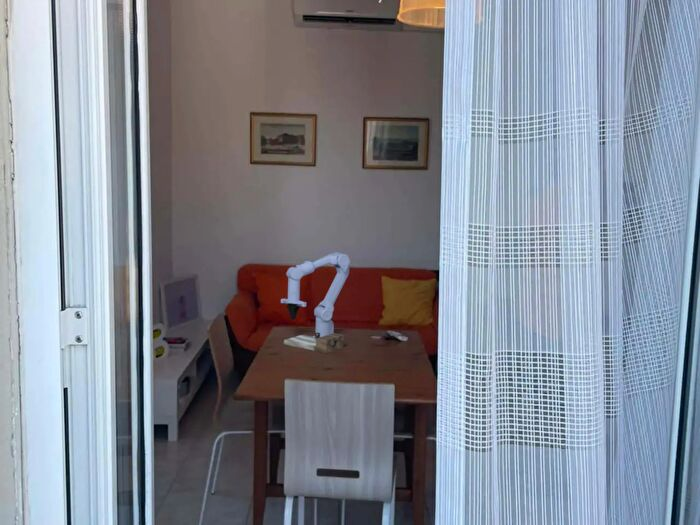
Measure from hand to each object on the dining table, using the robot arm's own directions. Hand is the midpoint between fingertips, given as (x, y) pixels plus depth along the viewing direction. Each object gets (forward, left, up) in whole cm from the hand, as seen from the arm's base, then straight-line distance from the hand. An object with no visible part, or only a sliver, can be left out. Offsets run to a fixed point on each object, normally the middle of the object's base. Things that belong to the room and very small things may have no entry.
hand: (293, 319), depth 297 cm
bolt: (+2, +21, -8) cm, 22 cm away
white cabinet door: (+2, +14, -10) cm, 18 cm away
